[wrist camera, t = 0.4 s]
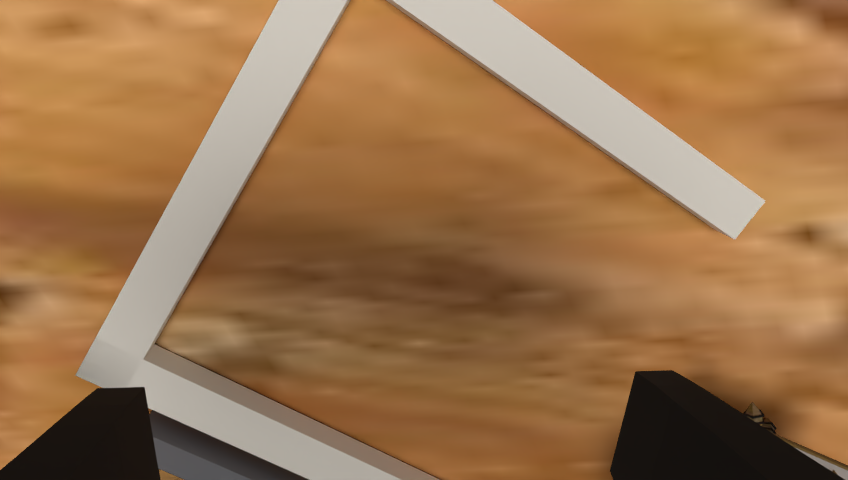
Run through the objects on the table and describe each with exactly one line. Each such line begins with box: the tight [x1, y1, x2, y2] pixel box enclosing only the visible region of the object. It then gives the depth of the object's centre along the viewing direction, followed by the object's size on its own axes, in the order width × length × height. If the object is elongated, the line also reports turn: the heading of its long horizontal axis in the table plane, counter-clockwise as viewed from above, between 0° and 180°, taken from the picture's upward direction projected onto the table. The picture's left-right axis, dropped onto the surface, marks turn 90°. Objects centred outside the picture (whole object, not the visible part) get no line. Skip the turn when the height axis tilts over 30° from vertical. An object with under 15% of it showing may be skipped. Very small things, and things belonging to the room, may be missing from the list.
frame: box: [76, 0, 765, 480], centre depth 18 cm, size 16×16×1 cm
